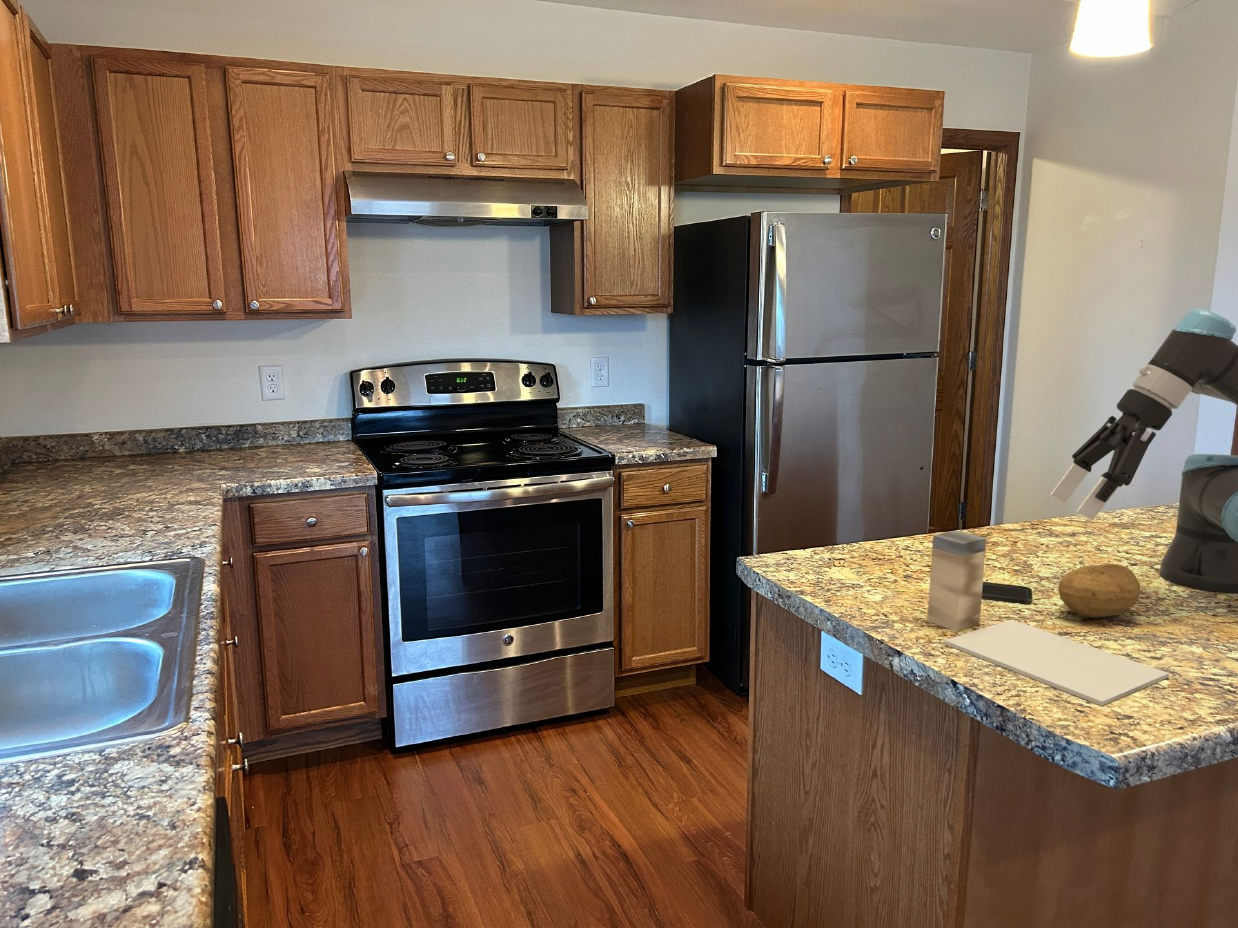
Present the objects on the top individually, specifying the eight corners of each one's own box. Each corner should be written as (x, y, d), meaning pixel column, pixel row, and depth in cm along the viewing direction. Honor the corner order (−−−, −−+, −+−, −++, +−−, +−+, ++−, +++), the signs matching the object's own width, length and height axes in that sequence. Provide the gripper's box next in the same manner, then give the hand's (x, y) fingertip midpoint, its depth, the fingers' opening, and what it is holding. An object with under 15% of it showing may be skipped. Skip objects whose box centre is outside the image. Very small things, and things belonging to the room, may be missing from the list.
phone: (1032, 601, 152) (936, 589, 158) (1031, 607, 152) (936, 595, 158) (1031, 587, 159) (940, 576, 165) (1031, 593, 159) (940, 581, 165)
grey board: (944, 644, 136) (944, 640, 136) (1011, 622, 144) (1011, 619, 144) (1101, 705, 116) (1102, 701, 116) (1168, 677, 125) (1169, 673, 124)
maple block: (950, 614, 148) (956, 530, 146) (979, 624, 144) (986, 538, 141) (927, 620, 145) (933, 535, 143) (956, 631, 141) (963, 543, 138)
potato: (1037, 611, 149) (1041, 564, 148) (1100, 600, 155) (1104, 554, 153) (1088, 632, 141) (1093, 582, 139) (1152, 619, 146) (1158, 571, 144)
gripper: (1104, 380, 160) (1029, 481, 165) (1164, 393, 136) (1075, 510, 141) (1141, 403, 160) (1065, 503, 165) (1209, 420, 136) (1118, 537, 140)
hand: (1070, 507), depth 153 cm, fingers open, 13 cm apart
